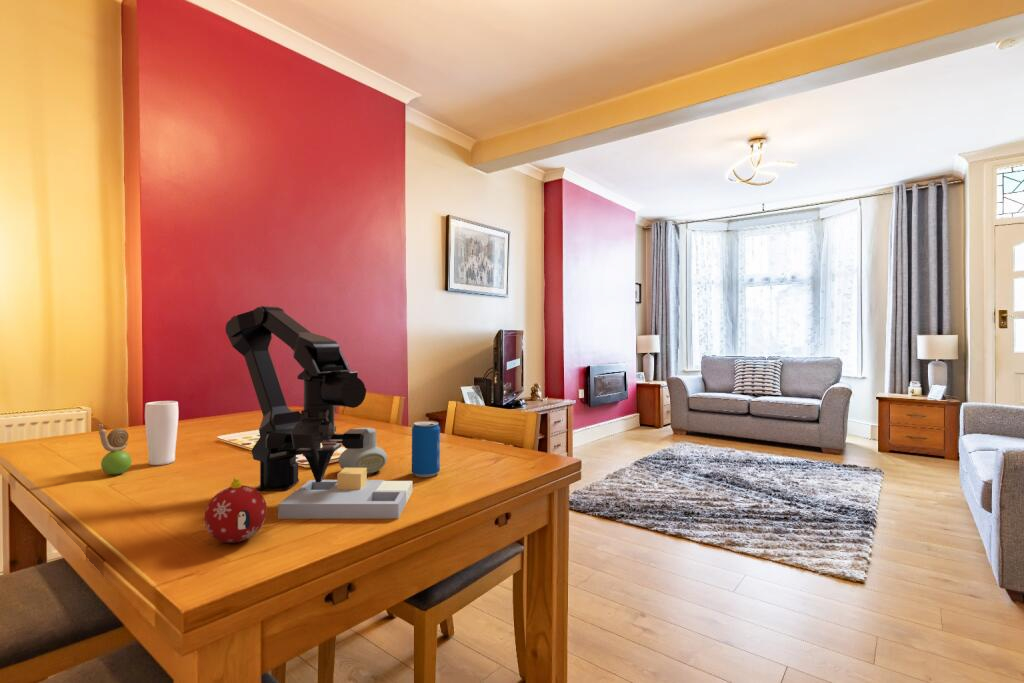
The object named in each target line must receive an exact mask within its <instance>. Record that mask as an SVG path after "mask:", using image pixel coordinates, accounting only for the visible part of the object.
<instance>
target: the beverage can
mask: <svg viewBox="0 0 1024 683" xmlns="http://www.w3.org/2000/svg"><path fill="white" fill-rule="evenodd" d="M440 469H441V427H440V425H439V422H438V421H434V420H420V421H416V422H414V423H413V426H412V428H411V473H412V474H414V476H415V477H417V478H432V477H435V476H436V475H437V474H438V473H439V472H440V471H441V470H440Z"/></svg>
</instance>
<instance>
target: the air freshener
mask: <svg viewBox="0 0 1024 683" xmlns="http://www.w3.org/2000/svg"><path fill="white" fill-rule="evenodd" d="M355 429H367V430H368V431H369V433H370V443H368V444H367V445H366V446H365V447H364V448H360V449H346V448H345V450H343V451H342V452H341V453H340V455H339V457H338V465H339V467H340V468H341V470H342V469H344V468H367V476H369V475H372V474H374V473H376V472H378V471H380V470H381V469H382V468H383V467H384V466H385V465H386V463H387V461H388V455H387V452H386V451H385V450H384V449H383V448H382V447H379V446H377V430H376V428H373V427H357V428H355Z"/></svg>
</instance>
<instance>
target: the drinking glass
mask: <svg viewBox="0 0 1024 683" xmlns="http://www.w3.org/2000/svg"><path fill="white" fill-rule="evenodd" d="M179 413H180V412H179V402H178V401H176V400H159V401H150V402H146V403H145V406H144V424H145V434H146V443H147V453H148V464H149V465H151V466H163V465H164V466H165V465H169V464H172V463H174V462H175V460H176V448H177V447H176V446H177V437H178V429H179V428H178V427H179V415H180V414H179Z"/></svg>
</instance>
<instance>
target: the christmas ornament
mask: <svg viewBox="0 0 1024 683" xmlns="http://www.w3.org/2000/svg"><path fill="white" fill-rule="evenodd" d="M267 510H268V509H267V502H266V500H265V497H264V496H263V495H262V493H261V492H259V490H256V488H254V487H252V486H248V485H242V481H241V480H240V478H239V477H237V476H236V477H234V478H233V481H231V486H229V487H226V488H224V489H222V490H220V491H219V492H217V493H216V494H215V495H214V496H213V497H212V498H211V499H210V500H209V502H208V504H207V506H206V508H205V511H204V516H203V519H204V522H203V523H204V526H205V528H206V530H207V533H208V534H209V535H210V537H212V538H214V539H215V540H217V541H219V542H221V543H226V544H235V543H241V542H244V541H246V540H248V539H249V538H251V537H253V536H254V535H255V534H256V533H257V532H259V530H260V529H261V528H262V526H263V525H264V522H265V520H266V517H267V513H268V512H267Z"/></svg>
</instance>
